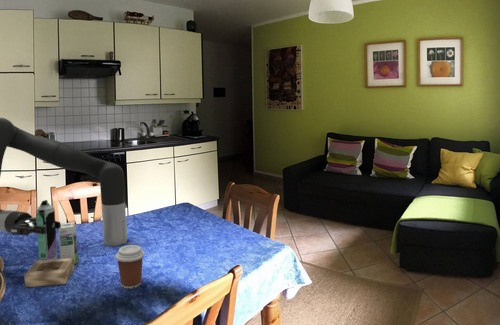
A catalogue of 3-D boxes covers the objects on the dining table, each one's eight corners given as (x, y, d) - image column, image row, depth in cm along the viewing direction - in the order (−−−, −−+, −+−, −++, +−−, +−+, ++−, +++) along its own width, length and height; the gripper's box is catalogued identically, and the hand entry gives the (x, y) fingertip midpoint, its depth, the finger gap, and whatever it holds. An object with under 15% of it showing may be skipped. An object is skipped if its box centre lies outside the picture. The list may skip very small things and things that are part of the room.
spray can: (57, 260, 130) (54, 201, 127) (39, 263, 127) (35, 203, 124) (57, 254, 135) (53, 197, 131) (39, 257, 132) (35, 199, 129)
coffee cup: (118, 292, 122) (116, 256, 120) (115, 280, 130) (113, 246, 128) (148, 287, 125) (146, 251, 124) (143, 275, 134) (142, 242, 132)
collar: (74, 268, 139) (73, 257, 138) (65, 283, 127) (64, 272, 127) (37, 271, 137) (36, 260, 136) (25, 287, 125) (24, 275, 124)
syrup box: (61, 266, 140) (58, 228, 138) (60, 260, 146) (57, 223, 143) (78, 263, 143) (75, 225, 141) (77, 258, 148) (74, 221, 146)
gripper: (-8, 217, 126) (33, 223, 121) (30, 206, 140) (68, 211, 135) (-6, 239, 128) (35, 246, 122) (31, 226, 141) (69, 232, 136)
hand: (52, 228), depth 128 cm, fingers closed on spray can, 5 cm apart
